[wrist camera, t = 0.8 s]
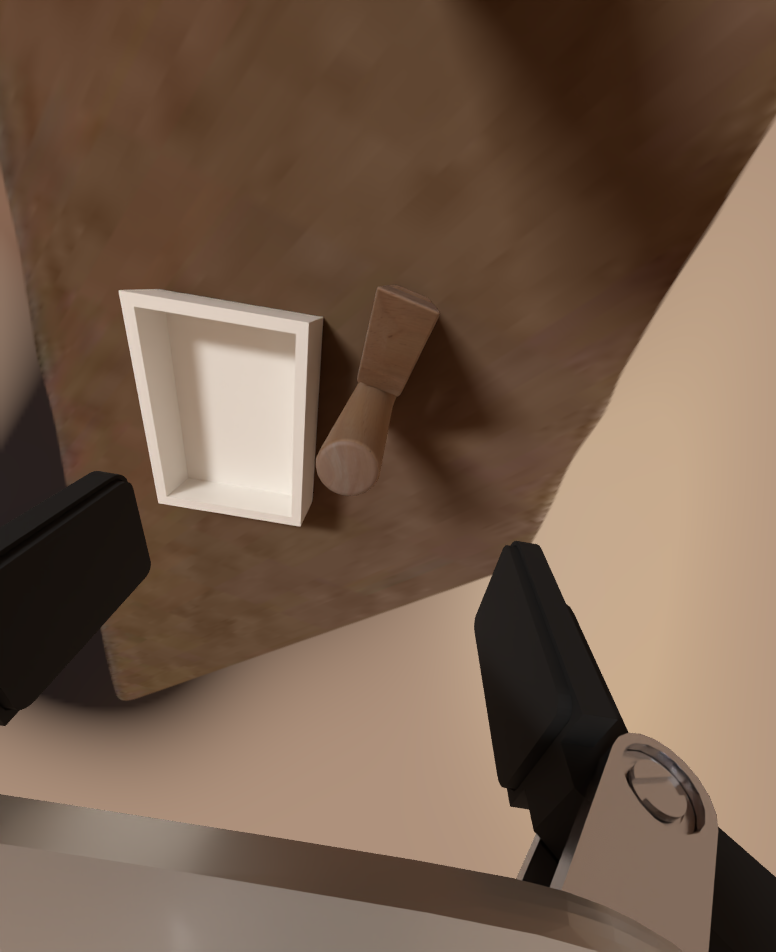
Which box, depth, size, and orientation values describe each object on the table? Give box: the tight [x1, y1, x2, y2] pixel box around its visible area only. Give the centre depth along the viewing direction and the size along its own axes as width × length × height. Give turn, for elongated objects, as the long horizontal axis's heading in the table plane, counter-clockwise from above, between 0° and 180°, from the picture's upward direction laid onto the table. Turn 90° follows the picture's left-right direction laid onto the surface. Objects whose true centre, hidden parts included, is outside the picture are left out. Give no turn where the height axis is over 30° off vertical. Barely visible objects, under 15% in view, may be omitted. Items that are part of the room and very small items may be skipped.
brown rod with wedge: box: [316, 285, 440, 496], centre depth 26 cm, size 4×11×18 cm, turn 160°
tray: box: [119, 289, 323, 526], centre depth 35 cm, size 20×15×5 cm
